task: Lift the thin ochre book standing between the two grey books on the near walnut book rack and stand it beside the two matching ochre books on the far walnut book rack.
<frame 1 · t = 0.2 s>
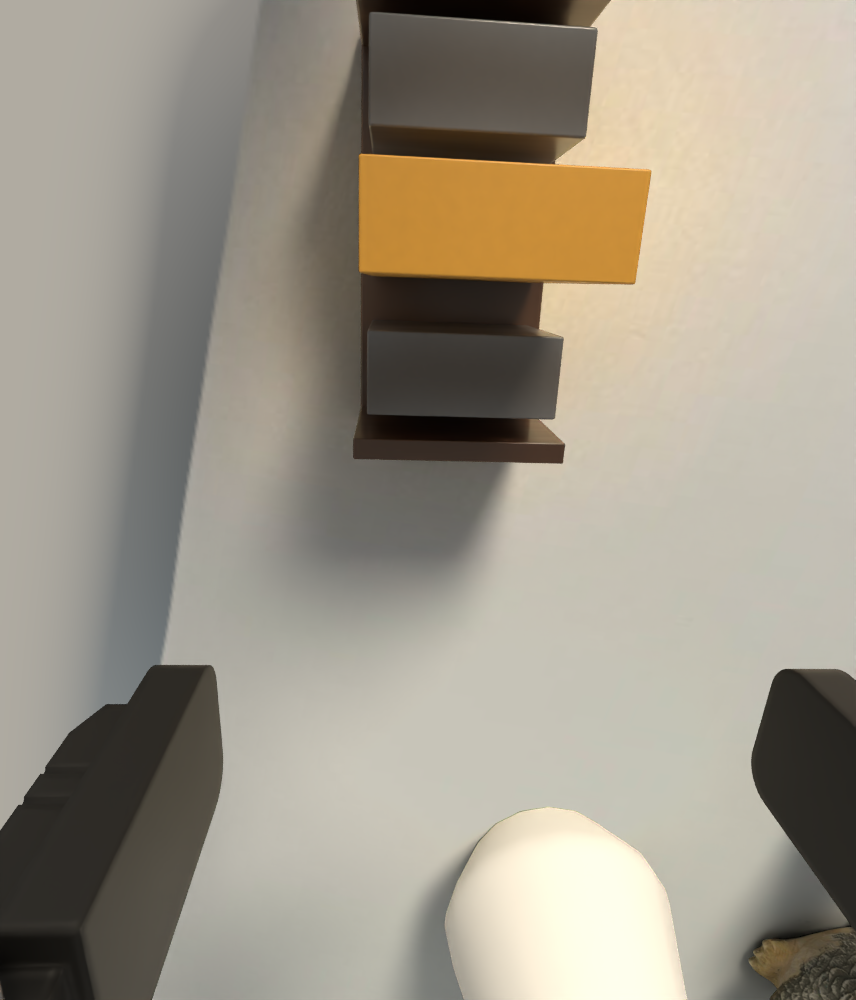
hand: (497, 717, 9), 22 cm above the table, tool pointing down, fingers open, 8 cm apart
figurine: (802, 961, 45), on the table
ochre book: (454, 247, 26), point 1 cm above the table, touching grey rack
grey rack: (452, 248, 27), on the table
cup: (540, 858, 40), on the table
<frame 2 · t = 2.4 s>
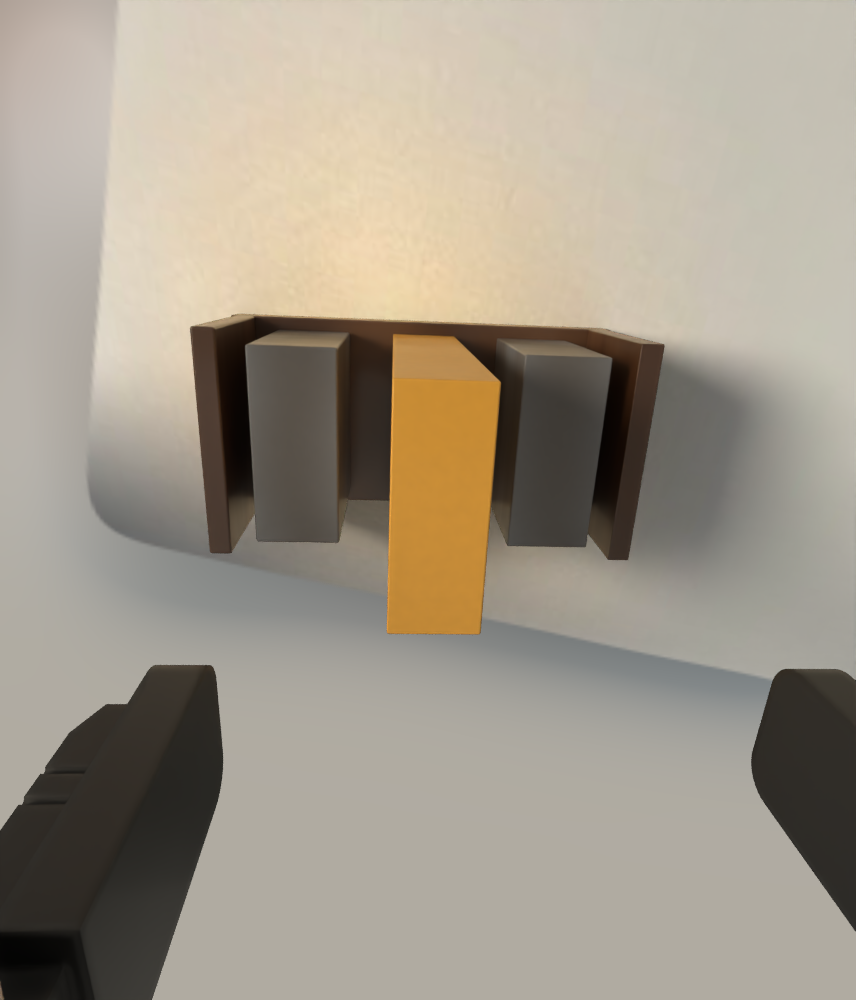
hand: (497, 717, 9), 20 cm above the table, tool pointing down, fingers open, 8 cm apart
ochre book: (420, 416, 27), point 1 cm above the table, touching grey rack
grey rack: (419, 412, 28), on the table
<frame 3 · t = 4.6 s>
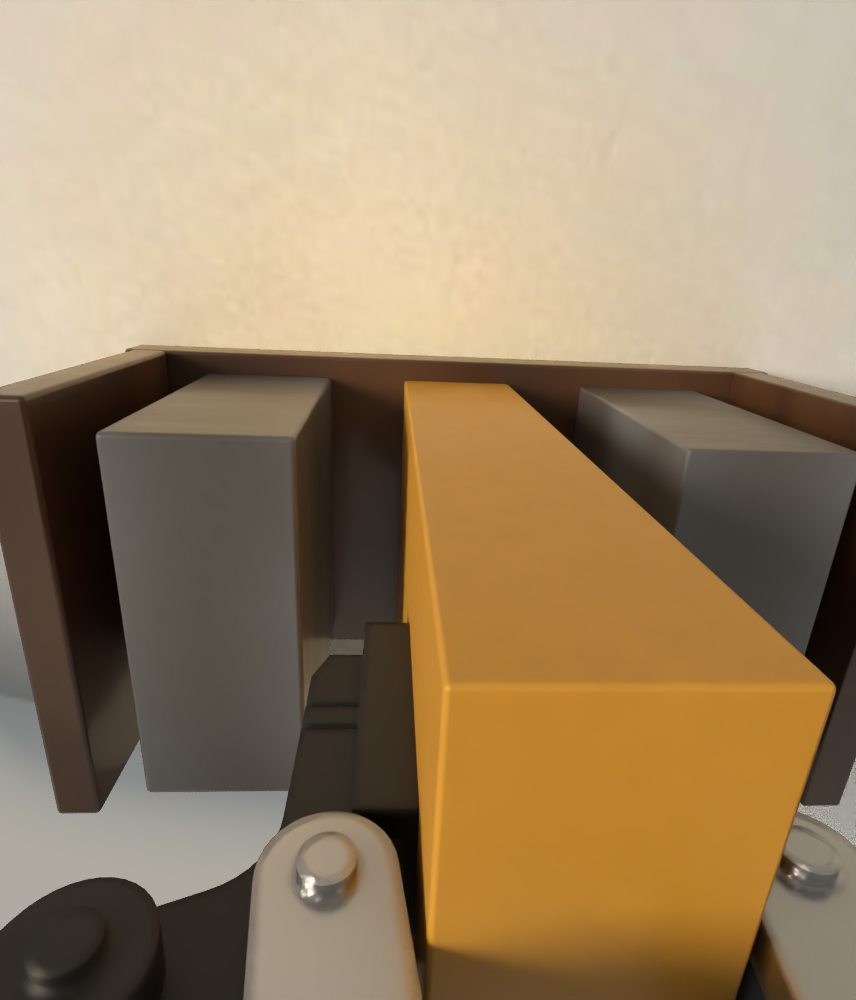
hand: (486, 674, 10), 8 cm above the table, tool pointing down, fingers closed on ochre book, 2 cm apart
ochre book: (448, 513, 16), point 1 cm above the table, touching grey rack, gripper
grey rack: (446, 500, 17), on the table
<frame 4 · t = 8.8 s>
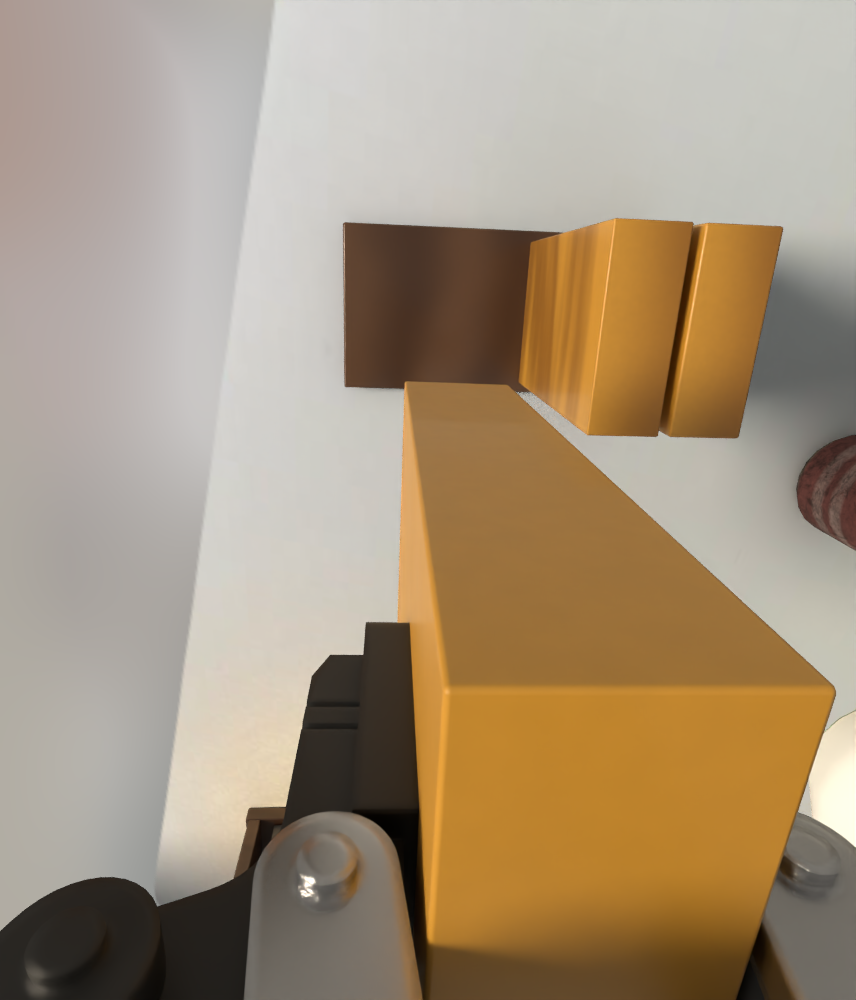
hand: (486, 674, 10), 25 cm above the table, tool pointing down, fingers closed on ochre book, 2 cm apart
can: (840, 479, 37), on the table
ochre book: (449, 513, 16), point 18 cm above the table, touching gripper
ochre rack: (496, 313, 32), on the table
grey rack: (363, 847, 45), on the table
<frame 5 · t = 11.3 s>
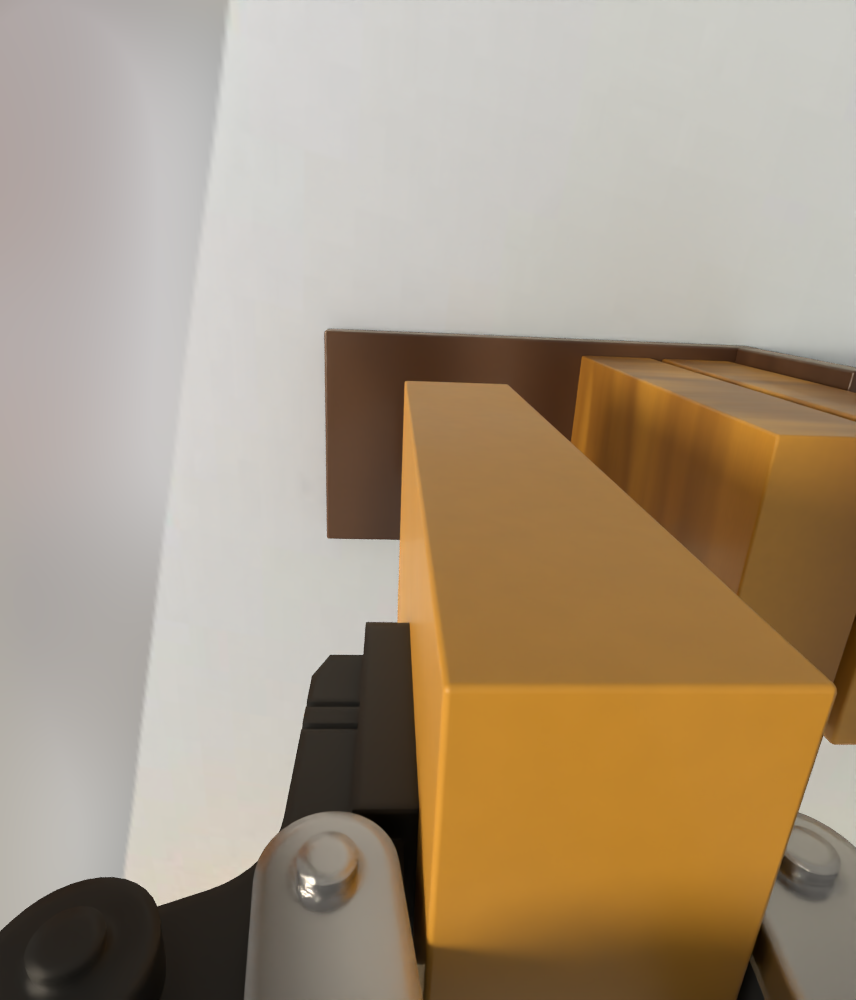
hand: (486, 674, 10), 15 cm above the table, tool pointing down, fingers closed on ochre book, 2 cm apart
ochre book: (449, 513, 16), point 8 cm above the table, touching gripper
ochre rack: (530, 440, 24), on the table
when the fingers open (8 cm above the table, at t = 13.3 s): ochre book stays where it is, resting on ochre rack.
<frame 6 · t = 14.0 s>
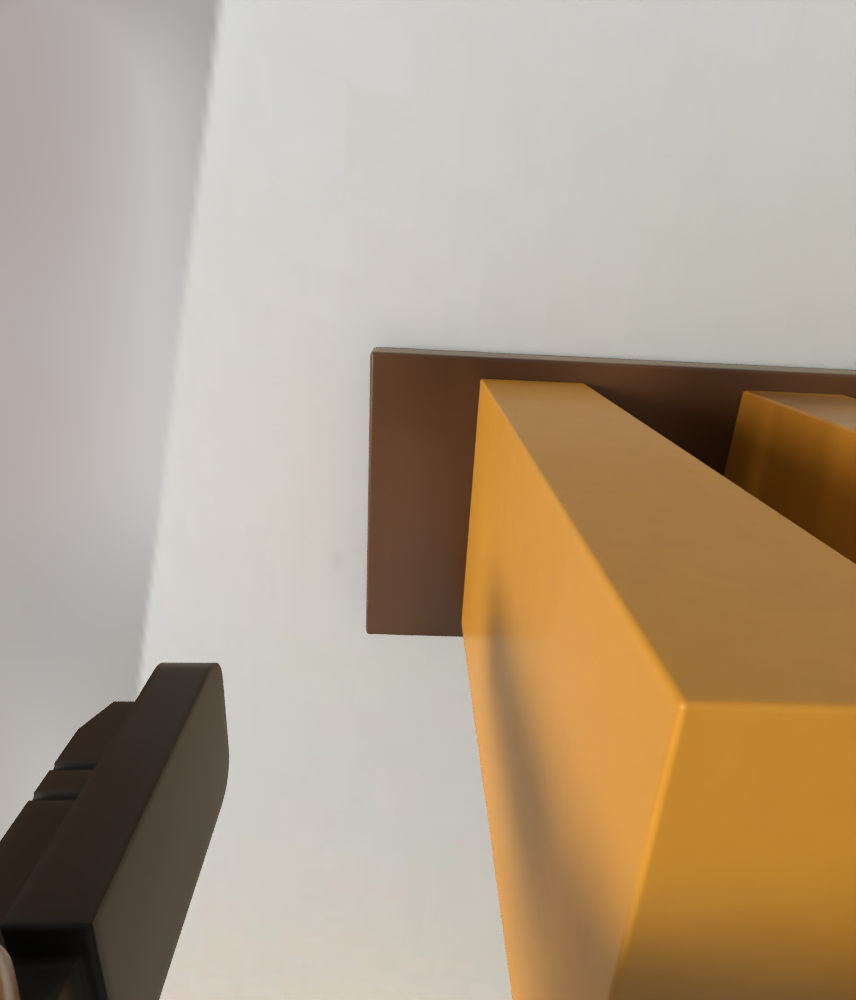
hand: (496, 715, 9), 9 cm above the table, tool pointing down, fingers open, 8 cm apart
ochre book: (518, 511, 16), point 1 cm above the table, touching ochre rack
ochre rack: (651, 503, 17), on the table
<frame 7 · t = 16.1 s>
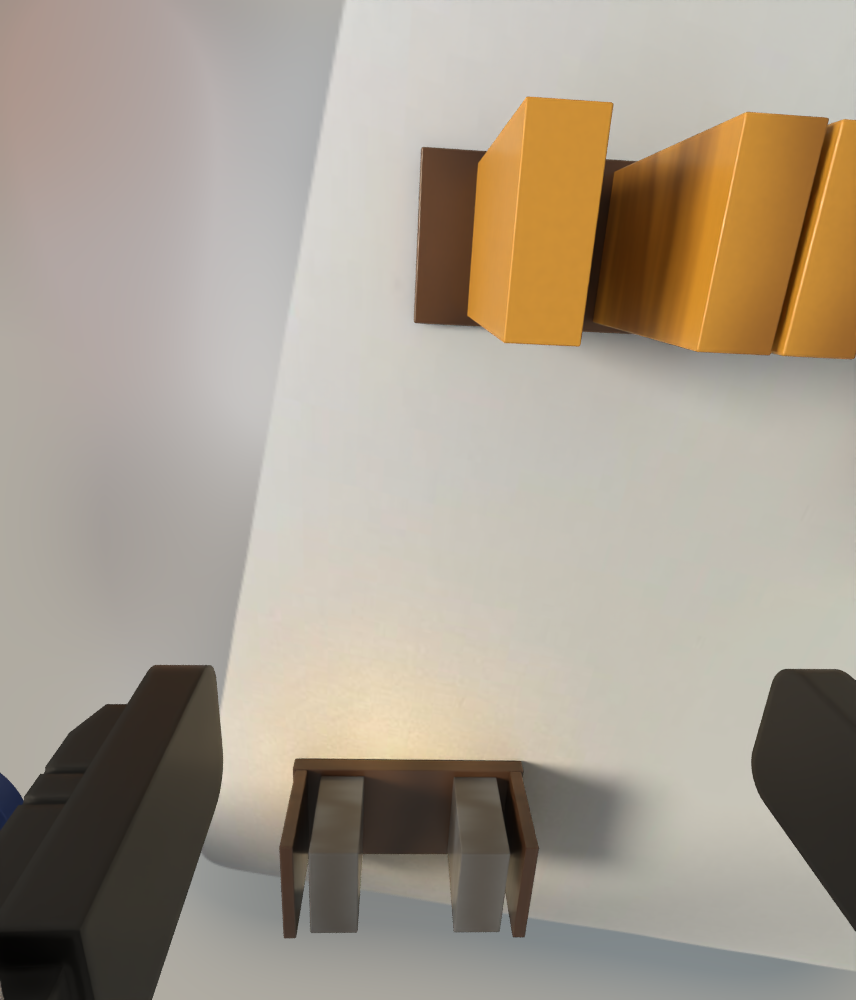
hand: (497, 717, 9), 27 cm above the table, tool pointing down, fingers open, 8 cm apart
ochre book: (498, 244, 30), point 1 cm above the table, touching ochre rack
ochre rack: (572, 248, 31), on the table
grey rack: (407, 802, 44), on the table
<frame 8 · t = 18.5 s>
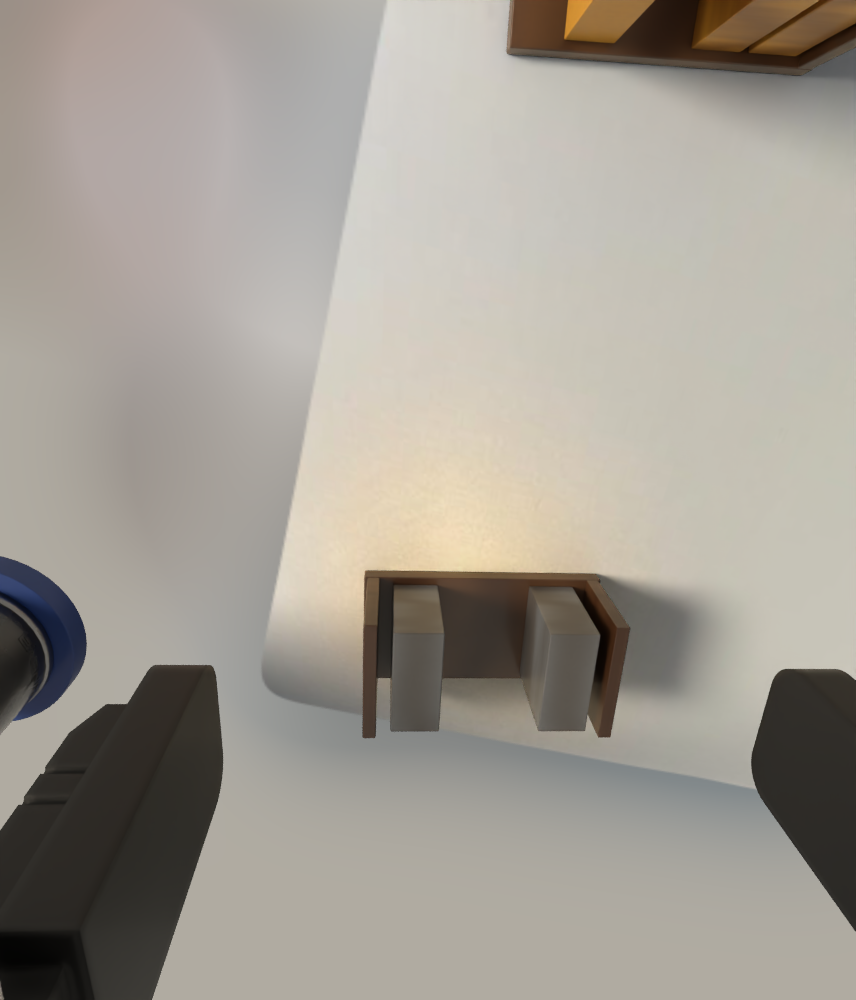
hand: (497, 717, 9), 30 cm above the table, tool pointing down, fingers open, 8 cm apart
grey rack: (477, 622, 43), on the table
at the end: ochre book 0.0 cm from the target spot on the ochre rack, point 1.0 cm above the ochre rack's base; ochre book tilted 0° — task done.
